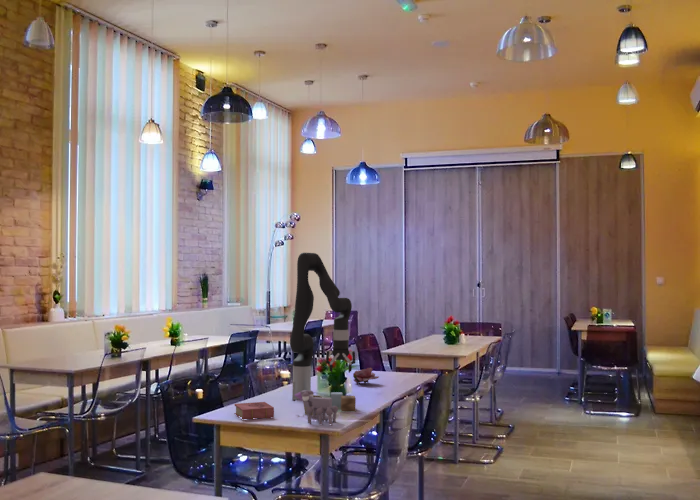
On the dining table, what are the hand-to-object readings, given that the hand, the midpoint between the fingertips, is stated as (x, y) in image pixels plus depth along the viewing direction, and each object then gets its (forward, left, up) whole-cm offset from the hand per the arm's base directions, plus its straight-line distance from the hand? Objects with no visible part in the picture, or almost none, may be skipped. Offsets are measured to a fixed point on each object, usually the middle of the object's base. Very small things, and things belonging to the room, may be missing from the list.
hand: (340, 372), depth 346 cm
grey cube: (-2, -1, -16) cm, 16 cm away
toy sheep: (-13, -33, -17) cm, 39 cm away
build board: (+1, -7, -17) cm, 18 cm away
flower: (+18, +67, -17) cm, 72 cm away
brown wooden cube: (+3, -11, -16) cm, 20 cm away
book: (-40, -20, -17) cm, 48 cm away
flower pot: (-14, -20, -17) cm, 30 cm away
